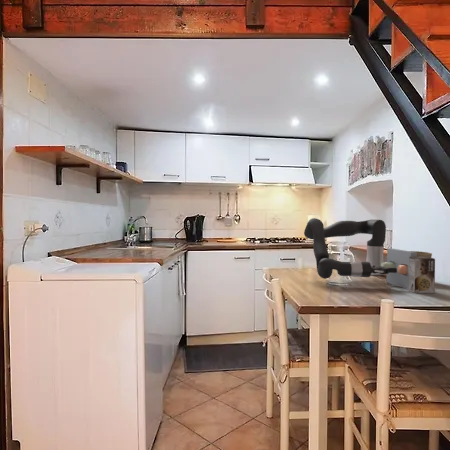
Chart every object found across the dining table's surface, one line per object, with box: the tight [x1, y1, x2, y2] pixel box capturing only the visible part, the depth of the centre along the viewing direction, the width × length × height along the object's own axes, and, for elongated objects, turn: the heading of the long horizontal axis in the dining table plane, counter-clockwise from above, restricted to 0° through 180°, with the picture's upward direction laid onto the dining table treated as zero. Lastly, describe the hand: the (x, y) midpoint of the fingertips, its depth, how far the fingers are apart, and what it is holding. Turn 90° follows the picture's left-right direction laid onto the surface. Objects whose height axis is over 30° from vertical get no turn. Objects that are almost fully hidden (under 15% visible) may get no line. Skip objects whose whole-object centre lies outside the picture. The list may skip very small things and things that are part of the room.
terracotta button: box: [398, 265, 408, 274], centre depth 172 cm, size 4×7×4 cm, turn 96°
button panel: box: [386, 248, 417, 291], centre depth 177 cm, size 20×3×18 cm, turn 6°
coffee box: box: [408, 257, 436, 294], centre depth 163 cm, size 9×6×16 cm
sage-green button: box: [381, 261, 395, 268], centre depth 181 cm, size 4×7×4 cm, turn 96°
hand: (396, 270), depth 171 cm, fingers closed
